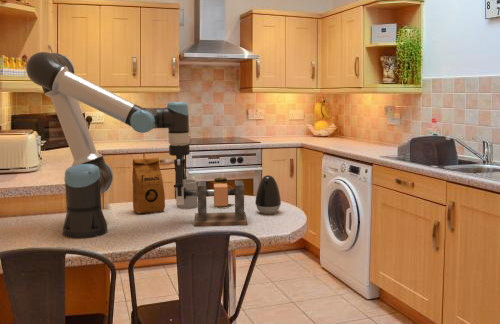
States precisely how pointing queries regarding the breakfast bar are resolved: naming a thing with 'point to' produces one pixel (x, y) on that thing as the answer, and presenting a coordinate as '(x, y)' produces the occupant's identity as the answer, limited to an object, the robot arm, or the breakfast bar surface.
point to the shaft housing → (220, 218)
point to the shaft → (208, 192)
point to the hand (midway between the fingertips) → (181, 200)
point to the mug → (190, 200)
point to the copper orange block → (221, 181)
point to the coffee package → (147, 186)
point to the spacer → (220, 195)
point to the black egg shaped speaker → (268, 196)
